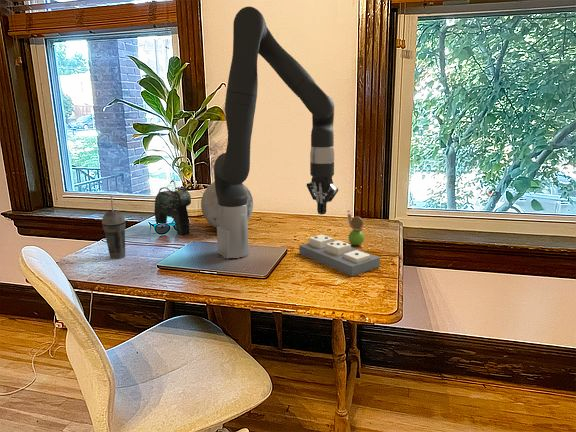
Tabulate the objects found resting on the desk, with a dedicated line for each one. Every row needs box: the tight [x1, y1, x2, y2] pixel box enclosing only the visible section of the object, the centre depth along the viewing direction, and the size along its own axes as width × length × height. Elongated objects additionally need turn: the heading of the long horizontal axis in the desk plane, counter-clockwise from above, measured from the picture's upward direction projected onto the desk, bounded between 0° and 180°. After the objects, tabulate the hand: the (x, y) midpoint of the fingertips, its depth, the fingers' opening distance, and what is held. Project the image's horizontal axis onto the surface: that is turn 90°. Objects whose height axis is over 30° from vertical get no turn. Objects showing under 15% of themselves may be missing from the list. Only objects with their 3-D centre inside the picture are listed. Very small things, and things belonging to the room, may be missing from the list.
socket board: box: [298, 240, 381, 277], centre depth 140 cm, size 12×24×3 cm, turn 38°
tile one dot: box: [344, 249, 370, 264], centre depth 133 cm, size 6×6×3 cm
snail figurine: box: [347, 209, 365, 246], centre depth 153 cm, size 5×6×12 cm
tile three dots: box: [326, 239, 352, 256], centre depth 139 cm, size 6×6×3 cm
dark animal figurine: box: [153, 180, 192, 236], centre depth 169 cm, size 20×6×20 cm, turn 48°
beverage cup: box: [101, 195, 127, 260], centre depth 141 cm, size 7×7×20 cm
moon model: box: [200, 181, 254, 229], centre depth 170 cm, size 20×20×20 cm
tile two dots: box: [308, 234, 334, 249], centre depth 145 cm, size 6×6×3 cm
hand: (321, 213), depth 143 cm, fingers closed
